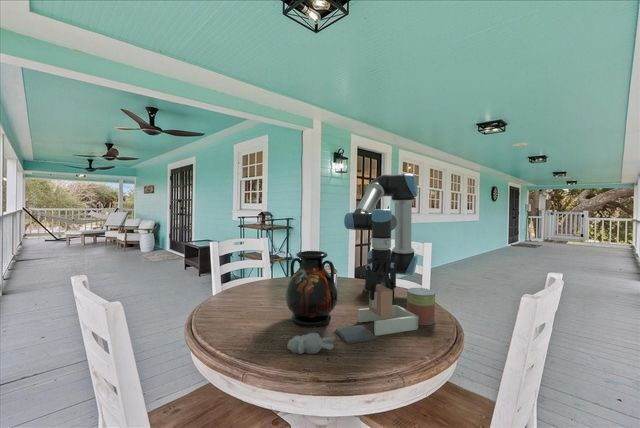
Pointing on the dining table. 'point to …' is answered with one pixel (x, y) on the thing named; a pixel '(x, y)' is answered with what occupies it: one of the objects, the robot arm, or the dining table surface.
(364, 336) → the slate mat
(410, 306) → the canned food
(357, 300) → the dining table surface
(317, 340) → the bunny figurine
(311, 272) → the amphora vase
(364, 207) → the robot arm
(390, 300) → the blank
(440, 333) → the dining table surface
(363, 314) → the slot rack
